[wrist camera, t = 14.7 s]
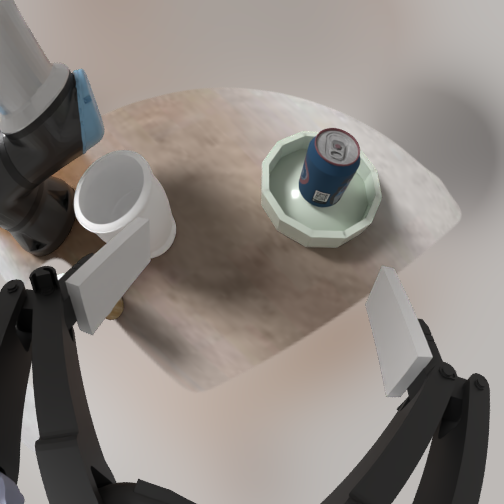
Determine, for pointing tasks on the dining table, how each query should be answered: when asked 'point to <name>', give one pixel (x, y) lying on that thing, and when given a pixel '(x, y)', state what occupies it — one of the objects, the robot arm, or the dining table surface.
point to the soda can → (329, 167)
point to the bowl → (305, 214)
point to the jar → (124, 199)
